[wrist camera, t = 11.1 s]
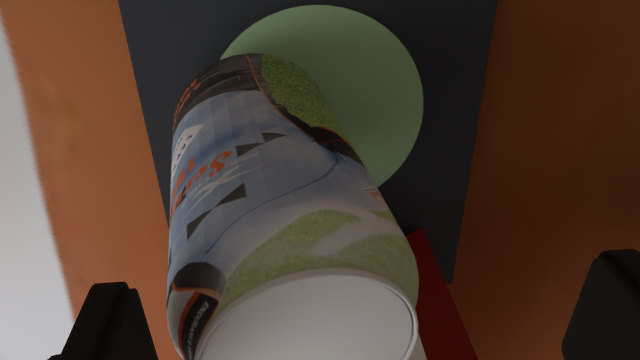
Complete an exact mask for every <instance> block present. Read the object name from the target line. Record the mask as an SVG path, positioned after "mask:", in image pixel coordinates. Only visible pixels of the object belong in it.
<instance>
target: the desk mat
mask: <svg viewBox="0 0 640 360" xmlns="http://www.w3.org/2000/svg"><path fill="white" fill-rule="evenodd" d="M118 3H119V7H120V12H121V16H122V21H123V25H124V30H125V34H126V39H127V43H128V48H129V52H130V56H131V61H132V65H133V70H134V74H135V79H136V83H137V88H138V92H139V97H140V101H141V106H142V110H143V115H144V119H145V124H146V128H147V133H148V137H149V142H150V146H151V151H152V155H153V160H154V164H155V169H156V173H157V178H158V182H159V187H160V191H161V196H162V200H163V205H164V209H165V214H166V218H167V223H168V227H169V222H170V194H171V165H172V136H173V119H174V112H175V108H176V106H177V103H178V100H179V97H180V96H181V94H182V92H183V91H184V89H185V87H186V86H187V85H188V84H189V82H190V81H191V80H192V79H193V78H194V77H195V76H196V75H197V74H198V73H199V72H201V71H202V70H203V69H205V68H206V67H207V66H209V65H211V64H213V63H215V62H217V61H219V60H221V59H224V58H227V57H230V56H233V55H239V54H246V53H264V54H269V55H274V56H278V57H281V58H283V59H286V60H288V61H291V62H292V63H294V64H296V65H297V66H299V67H301V68H302V69H303V70H304V71H306V72H307V73H308V74H309V75H310V76H311V77H312V78H313V79H314V81H315V82H316V83H317V85H318V86H319V87H320V89H321V91H322V93H323V94H324V96H325V98H326V100H327V101H328V103H329V105H330V107H331V108H332V110H333V112H334V113H335V115H336V117H337V119H338V120H339V122H340V124H341V126H342V127H343V129H344V131H345V133H346V134H347V136H348V138H349V140H350V141H351V143H352V145H353V147H354V148H355V150H356V152H357V154H358V155H359V157H360V159H361V161H362V162H363V164H364V166H365V168H366V169H367V171H368V173H369V175H370V176H371V178H372V180H373V182H374V183H375V185H376V187H377V189H378V190H379V192H380V194H381V196H382V197H383V199H384V201H385V203H386V204H387V206H388V208H389V209H390V211H391V213H392V215H393V216H394V218H395V220H396V222H397V223H398V225H399V227H400V229H401V230H402V232H403V234H404V236H407V235H409V234H410V233H412V232H414V231H415V230H417V229H419V228H420V227H422V228H423V231H424V233H425V235H426V238H427V240H428V242H429V245H430V247H431V250H432V252H433V254H434V257H435V259H436V261H437V264H438V266H439V269H440V271H441V273H442V276H443V278H444V280H445V283H446V284H451V283H452V279H453V272H454V266H455V260H456V254H457V247H458V241H459V235H460V229H461V222H462V216H463V210H464V204H465V198H466V191H467V185H468V179H469V173H470V166H471V160H472V154H473V148H474V141H475V135H476V129H477V123H478V116H479V110H480V104H481V98H482V91H483V85H484V79H485V73H486V66H487V60H488V54H489V48H490V41H491V35H492V29H493V23H494V16H495V10H496V4H497V0H118Z"/></svg>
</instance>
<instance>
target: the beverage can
mask: <svg viewBox="0 0 640 360" xmlns="http://www.w3.org/2000/svg"><path fill="white" fill-rule="evenodd" d="M418 287H419V275H418V269H417V264H416V259H415V256H414V254H413V252H412V249H411V247H410V245H409V243H408V241H407V239H406V237H405V236H404V234H403V232H402V230H401V229H400V227H399V225H398V223H397V222H396V220H395V218H394V216H393V215H392V213H391V211H390V209H389V208H388V206H387V204H386V203H385V201H384V199H383V197H382V196H381V194H380V192H379V190H378V189H377V187H376V185H375V183H374V182H373V180H372V178H371V176H370V175H369V173H368V171H367V169H366V168H365V166H364V164H363V162H362V161H361V159H360V157H359V155H358V154H357V152H356V150H355V148H354V147H353V145H352V143H351V141H350V140H349V138H348V136H347V134H346V133H345V131H344V129H343V127H342V126H341V124H340V122H339V120H338V119H337V117H336V115H335V113H334V112H333V110H332V108H331V107H330V105H329V103H328V101H327V100H326V98H325V96H324V94H323V93H322V91H321V89H320V87H319V86H318V85H317V83H316V82H315V81H314V79H313V78H312V77H311V76H310V75H309V74H308V73H307V72H306V71H304V70H303V69H302V68H301V67H299V66H297V65H296V64H294V63H292V62H291V61H288V60H286V59H283V58H281V57H278V56H274V55H269V54H264V53H246V54H239V55H233V56H230V57H227V58H224V59H221V60H219V61H217V62H215V63H213V64H211V65H209V66H207V67H206V68H205V69H203V70H202V71H201V72H199V73H198V74H197V75H196V76H195V77H194V78H193V79H192V80H191V81H190V82H189V84H188V85H187V86H186V87H185V89H184V91H183V92H182V94H181V96H180V97H179V100H178V103H177V106H176V108H175V112H174V119H173V136H172V165H171V194H170V222H169V251H168V279H167V308H166V311H167V321H168V330H169V333H170V336H171V338H172V341H173V343H174V346H175V348H176V350H177V352H178V354H179V355H180V356H181V358H182V359H183V360H408V359H409V357H410V355H411V353H412V351H413V350H414V347H415V343H416V340H417V337H418V319H417V314H416V310H415V307H416V303H417V299H418Z"/></svg>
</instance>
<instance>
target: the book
mask: <svg viewBox="0 0 640 360" xmlns="http://www.w3.org/2000/svg"><path fill="white" fill-rule="evenodd" d="M405 237H406V239H407V241H408V243H409V245H410V247H411V249H412V252H413V254H414V256H415V259H416V264H417V269H418V275H419V287H418V299H417V303H416V307H415V310H416V314H417V319H418V337H417V340H416V343H415V347H414V350H413V351H412V353H411V355H410V357H409V359H408V360H478V359H477V357H476V354H475V352H474V349H473V347H472V345H471V342H470V340H469V337H468V335H467V333H466V330H465V328H464V326H463V323H462V321H461V318H460V316H459V314H458V311H457V309H456V307H455V304H454V302H453V299H452V297H451V295H450V292H449V290H448V288H447V285H446V283H445V280H444V278H443V276H442V273H441V271H440V269H439V266H438V264H437V261H436V259H435V257H434V254H433V252H432V250H431V247H430V245H429V242H428V240H427V238H426V235H425V233H424V231H423V228H422V227H420V228H419V229H417V230H415V231H414V232H412V233H410V234H409V235H407V236H405Z"/></svg>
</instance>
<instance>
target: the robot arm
mask: <svg viewBox="0 0 640 360" xmlns="http://www.w3.org/2000/svg"><path fill="white" fill-rule="evenodd" d="M562 354H563V357H564V359H565V360H640V252H638V251H637V250H634V249H623V250H608V251H603V252H602V253H600V255H599V257H598V258H596V259H594V260H593V262H592V264H591V266H590V269H589V272H588V274H587V277H586V280H585V282H584V285H583V288H582V290H581V293H580V296H579V299H578V301H577V304H576V307H575V309H574V312H573V315H572V317H571V320H570V323H569V325H568V328H567V331H566V333H565V336H564V339H563V342H562ZM48 360H158V357H157V354H156V350H155V347H154V344H153V340H152V337H151V334H150V330H149V327H148V324H147V320H146V317H145V314H144V310H143V307H142V304H141V301H140V297H139V294H138V291H137V290H136V289H135V288H133V289H129V287H128V285H127V283H126V282H112V283H96V284H94V285H92V287H91V289H90V290H89V293H88V295H87V297H86V299H85V302H84V304H83V306H82V308H81V310H80V313H79V315H78V317H77V319H76V322H75V324H74V326H73V328H72V331H71V333H70V335H69V337H68V339H67V342H66V344H65V346H64V348H63V351H62V353H61V354H59V355H54V356H51V357H50V358H49V359H48Z"/></svg>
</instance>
